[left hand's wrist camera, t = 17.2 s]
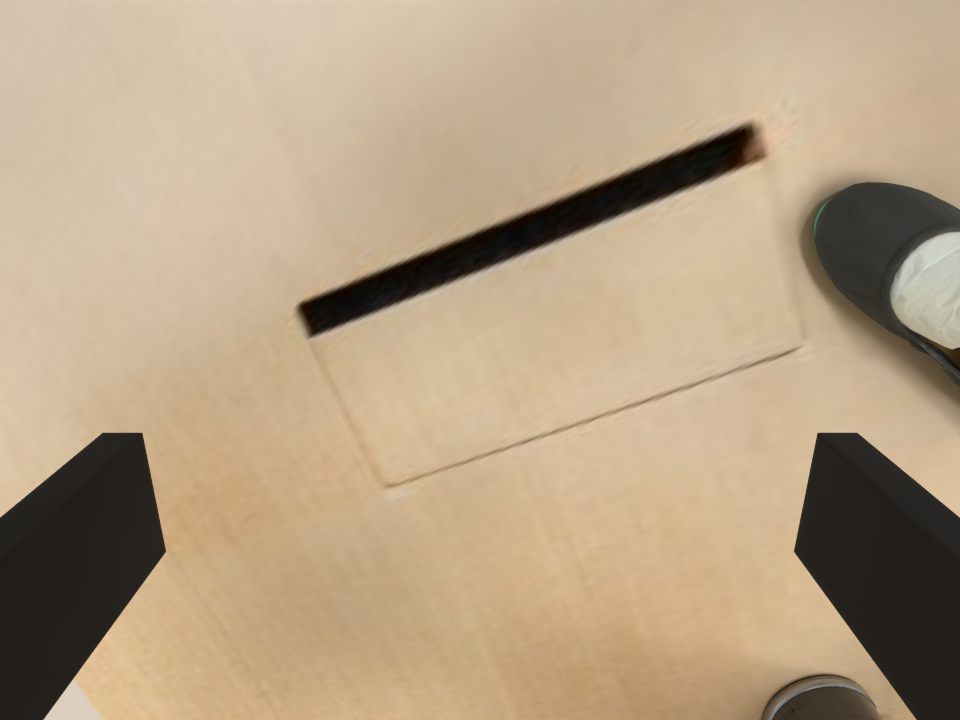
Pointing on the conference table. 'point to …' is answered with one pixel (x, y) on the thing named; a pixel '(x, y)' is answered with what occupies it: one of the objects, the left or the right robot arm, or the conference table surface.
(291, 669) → the conference table surface
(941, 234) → the ballet flat
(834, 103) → the conference table surface
